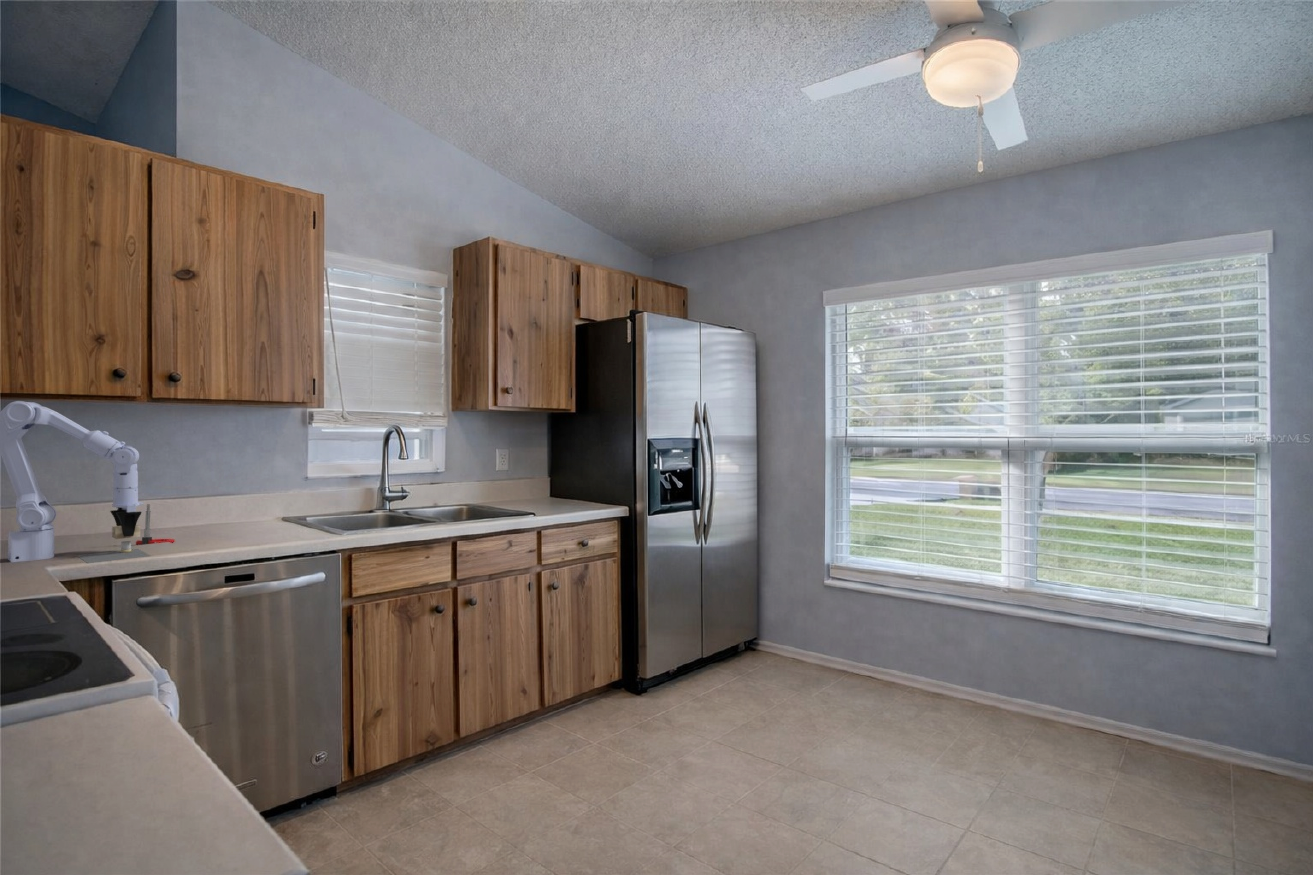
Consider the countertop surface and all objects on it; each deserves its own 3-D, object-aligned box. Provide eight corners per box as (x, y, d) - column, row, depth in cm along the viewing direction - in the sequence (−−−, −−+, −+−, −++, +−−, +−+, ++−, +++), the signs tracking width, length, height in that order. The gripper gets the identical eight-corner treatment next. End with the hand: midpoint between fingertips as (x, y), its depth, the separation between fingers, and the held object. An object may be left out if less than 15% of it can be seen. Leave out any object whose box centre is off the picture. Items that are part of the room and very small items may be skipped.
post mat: (87, 566, 182) (87, 551, 182) (76, 558, 193) (76, 544, 193) (151, 559, 193) (151, 545, 193) (137, 552, 204) (137, 538, 204)
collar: (116, 538, 194) (116, 528, 194) (111, 536, 198) (111, 526, 198) (140, 536, 198) (140, 526, 198) (135, 534, 202) (135, 524, 202)
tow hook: (158, 541, 225) (132, 545, 216) (159, 502, 225) (134, 504, 216) (180, 542, 224) (156, 546, 214) (182, 503, 224) (157, 504, 215)
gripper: (148, 488, 196) (149, 536, 196) (136, 485, 206) (137, 530, 206) (117, 490, 191) (118, 539, 191) (107, 487, 201) (107, 533, 201)
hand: (126, 535), depth 198 cm, fingers closed on collar, 6 cm apart
